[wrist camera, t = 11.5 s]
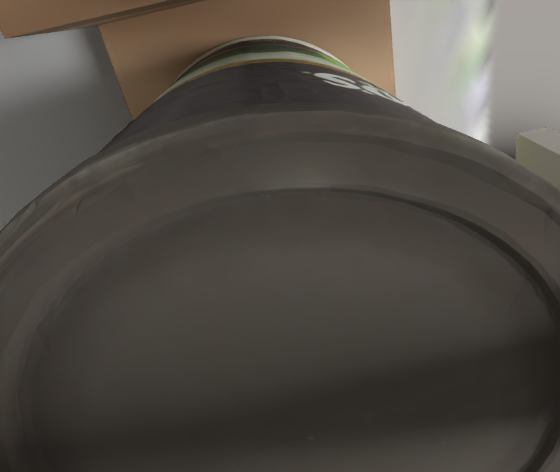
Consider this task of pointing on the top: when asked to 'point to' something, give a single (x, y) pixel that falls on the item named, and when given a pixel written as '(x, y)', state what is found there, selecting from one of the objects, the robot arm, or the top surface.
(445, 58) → the top surface
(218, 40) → the cradle
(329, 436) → the coffee can
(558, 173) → the robot arm
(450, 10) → the top surface
